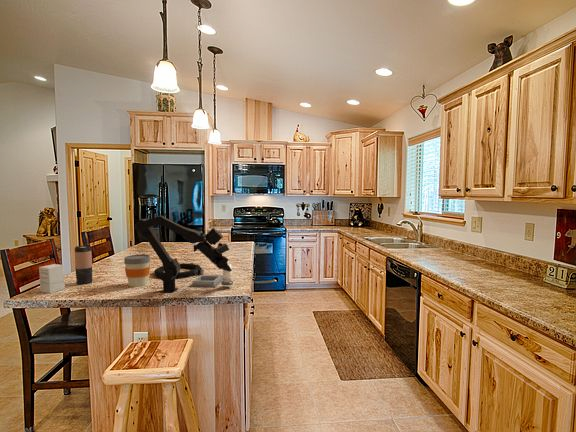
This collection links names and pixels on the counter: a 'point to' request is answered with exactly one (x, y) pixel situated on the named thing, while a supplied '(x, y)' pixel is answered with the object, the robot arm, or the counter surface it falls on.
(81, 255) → the travel mug
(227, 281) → the light bulb lamp
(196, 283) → the holder dock
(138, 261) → the reusable coffee cup
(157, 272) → the cable lock
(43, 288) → the supplement box
